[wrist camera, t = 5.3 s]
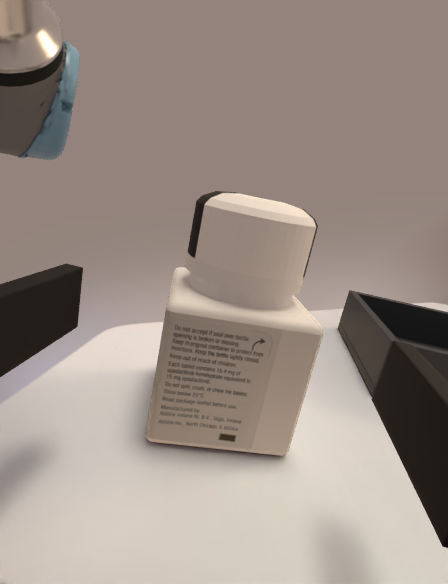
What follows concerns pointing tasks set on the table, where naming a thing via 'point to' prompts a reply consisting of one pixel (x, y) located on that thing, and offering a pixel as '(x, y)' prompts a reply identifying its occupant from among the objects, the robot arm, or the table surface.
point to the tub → (391, 333)
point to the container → (237, 329)
